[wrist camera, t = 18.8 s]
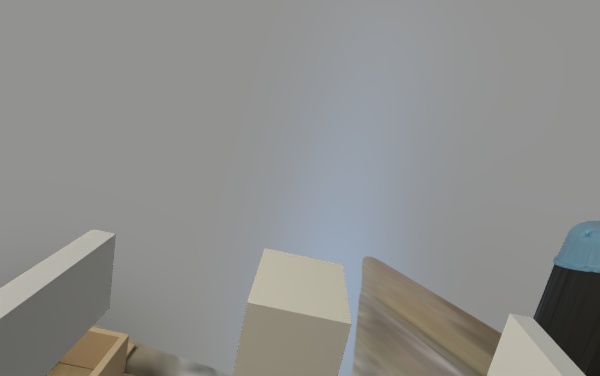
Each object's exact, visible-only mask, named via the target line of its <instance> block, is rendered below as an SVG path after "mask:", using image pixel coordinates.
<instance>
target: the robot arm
mask: <svg viewBox="0 0 600 376" xmlns="http://www.w3.org/2000/svg"><path fill="white" fill-rule="evenodd" d="M115 236H116V234H113V233H108V232H103V231H98V230H94V229H92V230H91V231H89V232H88V233H86V234H84V235H83V236H81V237H80V238H78V239H77V240H75V241H73V242H72V243H70V244H69V245H67V246H66V247H64V248H63V249H61V250H59V251H58V252H57V253H55V254H53V255H52V256H50V257H48V258H47V259H45V260H44V261H42V262H41V263H39V264H37V265H36V266H34V267H33V268H31V269H30V270H28V271H26V272H25V273H23V274H22V275H20V276H19V277H17V278H15V279H14V280H12V281H11V282H9V283H8V284H6V285H4V286H3V287H1V288H0V376H46V375H47V374H48V373H49V372H50V371H51V370H52V369H53V367H54V366H55V365H56V364H57V363H58V362H59V361H60V360H61V359H62V358H63V357H64V356H65V355H66V354H67V353H68V352H69V350H70V349H71V348H72V347H73V346H74V345H75V344H76V343H77V342H78V341H79V340H80V339H81V338H82V337H83V336H84V334H85V333H86V332H87V331H88V330H89V329H90V328H91V327H92V326H93V325H94V324H95V323H96V322H97V321H98V320H99V318H100V317H101V316H102V315H103V314H104V313H105V312H106V311H107V310H108V309H109V306H110V294H111V283H112V270H113V260H114V248H115ZM553 262H554V267H553V270H552V273H551V275H550V278H549V280H548V282H547V285H546V288H545V290H544V293H543V295H542V298H541V300H540V303H539V305H538V308H537V310H536V313H535V315H534V317H533V318H530V317H525V316H520V315H515V314H510V315H509V317H508V320H507V323H506V325H505V328H504V331H503V333H502V336H501V339H500V341H499V344H498V347H497V349H496V352H495V355H494V358H493V360H492V363H491V366H490V368H489V371H488V374H487V376H600V221H587V222H583V223H580V224H578V225H576V226H574V227H573V228H572V229H571V230H570V231H569V233H568V235H567V237H566V239H565V241H564V243H563V246H562V248H561V250H560V252H559V254H558V255H557V256H556V257H555V258H554V261H553Z"/></svg>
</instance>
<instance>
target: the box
mask: <svg viewBox="0 0 600 376" xmlns="http://www.w3.org/2000/svg"><path fill="white" fill-rule="evenodd" d="M350 328H351V317H350V311H349V304H348V297H347V291H346V285H345V278H344V271H343V265H342V264H337V263H332V262H328V261H323V260H318V259H314V258H309V257H304V256H299V255H294V254H290V253H285V252H280V251H276V250H271V249H266V248H265V249H264V252H263V256H262V259H261V262H260V265H259V268H258V271H257V274H256V277H255V280H254V283H253V286H252V289H251V292H250V296H249V299H248V302H247V307H246V311H245V316H244V321H243V326H242V331H241V336H240V342H239V347H238V352H237V357H236V362H235V367H234V372H233V376H338V372H339V369H340V365H341V361H342V358H343V354H344V350H345V346H346V343H347V339H348V335H349V331H350Z"/></svg>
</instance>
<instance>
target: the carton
mask: <svg viewBox="0 0 600 376" xmlns="http://www.w3.org/2000/svg"><path fill="white" fill-rule="evenodd" d="M128 340H129V335H128V334H123V333H119V332H114V331H109V330H104V329H100V328H95V327H91V328H90V329H89V330H88V331H87V332H86V333H85V334H84V336H83V337H82V338H81V339H80V340H79V341H78V342H77V343H76V344H75V345H74V346H73V347H72V348H71V349H70V350H69V352H68V353H67V354H66V355H65V356H64V357H63V358H62V359H61V360H60V361H59V362H60V363H65V364H70V365H75V366H80V367H84V368H89V369H94V370H93V371H92V373H91V374H90V375H89V376H136V375H131V374H127V373H124V371H125V365H126V358H127V357H128V356H129V354H130V353H131V351H132V350H133V349H134V347H135V344H130V343H128Z"/></svg>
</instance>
